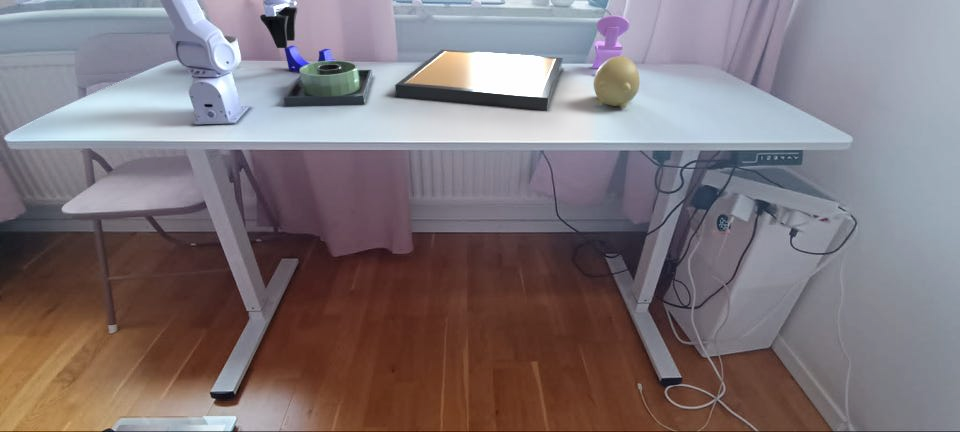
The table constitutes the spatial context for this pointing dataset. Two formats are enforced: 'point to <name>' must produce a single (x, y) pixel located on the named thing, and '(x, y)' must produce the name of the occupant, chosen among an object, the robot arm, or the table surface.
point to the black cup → (329, 69)
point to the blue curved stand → (297, 61)
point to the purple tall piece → (609, 38)
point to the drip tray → (302, 99)
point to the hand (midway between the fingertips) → (286, 44)
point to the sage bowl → (330, 79)
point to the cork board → (484, 79)
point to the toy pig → (616, 82)
